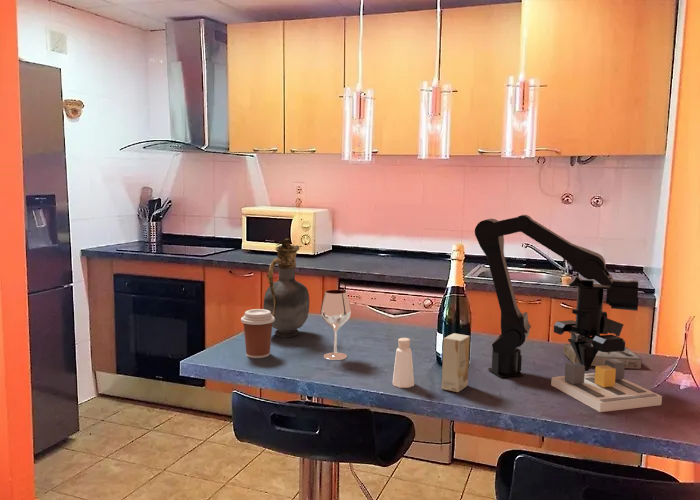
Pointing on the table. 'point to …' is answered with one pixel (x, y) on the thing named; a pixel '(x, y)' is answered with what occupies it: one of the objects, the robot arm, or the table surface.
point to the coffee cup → (257, 332)
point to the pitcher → (286, 293)
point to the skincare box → (455, 362)
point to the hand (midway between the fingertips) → (585, 370)
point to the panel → (604, 389)
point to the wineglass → (335, 316)
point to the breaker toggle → (605, 376)
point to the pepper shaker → (403, 365)
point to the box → (607, 357)
